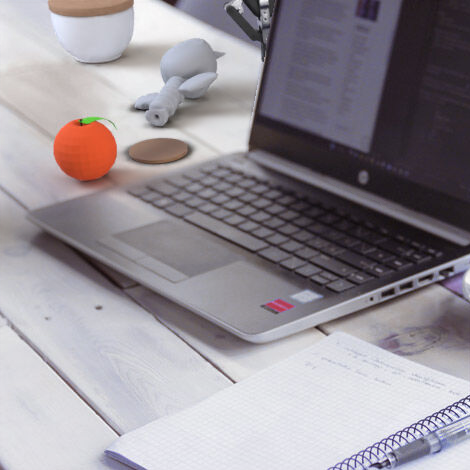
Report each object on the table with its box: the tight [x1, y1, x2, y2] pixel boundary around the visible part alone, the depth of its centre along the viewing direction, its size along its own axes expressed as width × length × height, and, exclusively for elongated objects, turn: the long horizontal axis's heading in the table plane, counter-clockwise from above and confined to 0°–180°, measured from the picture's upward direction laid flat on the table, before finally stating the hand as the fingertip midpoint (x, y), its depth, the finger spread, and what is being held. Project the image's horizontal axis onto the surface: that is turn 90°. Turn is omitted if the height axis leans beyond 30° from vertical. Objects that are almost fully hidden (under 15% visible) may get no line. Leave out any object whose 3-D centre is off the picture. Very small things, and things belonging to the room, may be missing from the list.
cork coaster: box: [128, 137, 189, 164], centre depth 115 cm, size 7×7×1 cm
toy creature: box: [134, 37, 227, 127], centre depth 129 cm, size 13×7×20 cm
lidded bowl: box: [47, 0, 135, 64], centre depth 146 cm, size 13×13×11 cm
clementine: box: [52, 116, 118, 182], centre depth 107 cm, size 8×7×7 cm
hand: (272, 67), depth 133 cm, fingers closed
